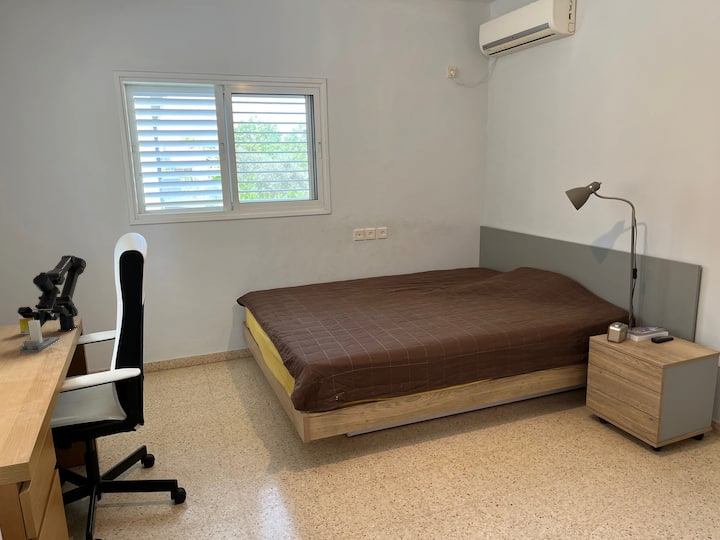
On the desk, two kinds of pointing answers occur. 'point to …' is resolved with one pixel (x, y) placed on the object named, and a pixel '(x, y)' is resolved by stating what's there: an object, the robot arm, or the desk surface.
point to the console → (37, 345)
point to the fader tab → (35, 331)
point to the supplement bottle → (24, 324)
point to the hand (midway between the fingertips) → (37, 329)
